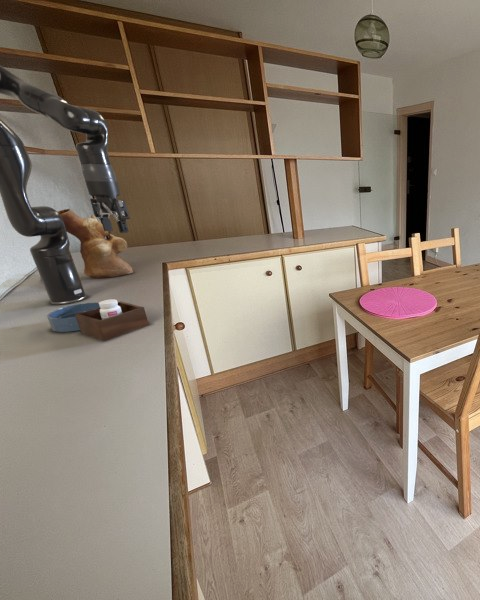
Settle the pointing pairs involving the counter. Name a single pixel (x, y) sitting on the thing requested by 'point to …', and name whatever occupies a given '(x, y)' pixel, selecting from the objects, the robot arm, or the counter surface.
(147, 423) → the counter surface
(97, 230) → the tan lumpy upright piece
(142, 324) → the box
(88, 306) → the bowl
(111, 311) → the pill bottle
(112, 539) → the counter surface
